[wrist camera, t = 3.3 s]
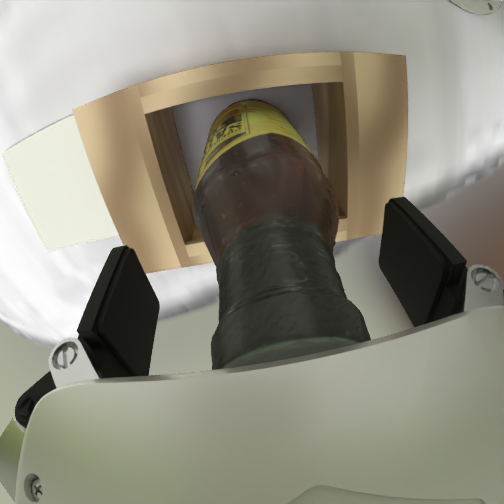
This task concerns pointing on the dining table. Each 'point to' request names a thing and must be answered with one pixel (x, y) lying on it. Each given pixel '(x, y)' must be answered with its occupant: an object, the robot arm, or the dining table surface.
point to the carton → (231, 81)
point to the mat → (59, 187)
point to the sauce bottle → (270, 242)
